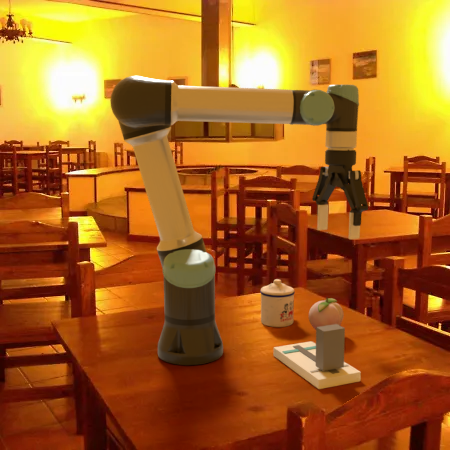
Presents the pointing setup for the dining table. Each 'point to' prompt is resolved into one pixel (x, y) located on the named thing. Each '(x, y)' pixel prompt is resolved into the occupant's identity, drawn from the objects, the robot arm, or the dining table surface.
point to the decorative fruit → (325, 313)
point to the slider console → (314, 366)
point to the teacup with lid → (277, 304)
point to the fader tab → (330, 347)
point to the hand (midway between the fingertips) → (337, 234)
